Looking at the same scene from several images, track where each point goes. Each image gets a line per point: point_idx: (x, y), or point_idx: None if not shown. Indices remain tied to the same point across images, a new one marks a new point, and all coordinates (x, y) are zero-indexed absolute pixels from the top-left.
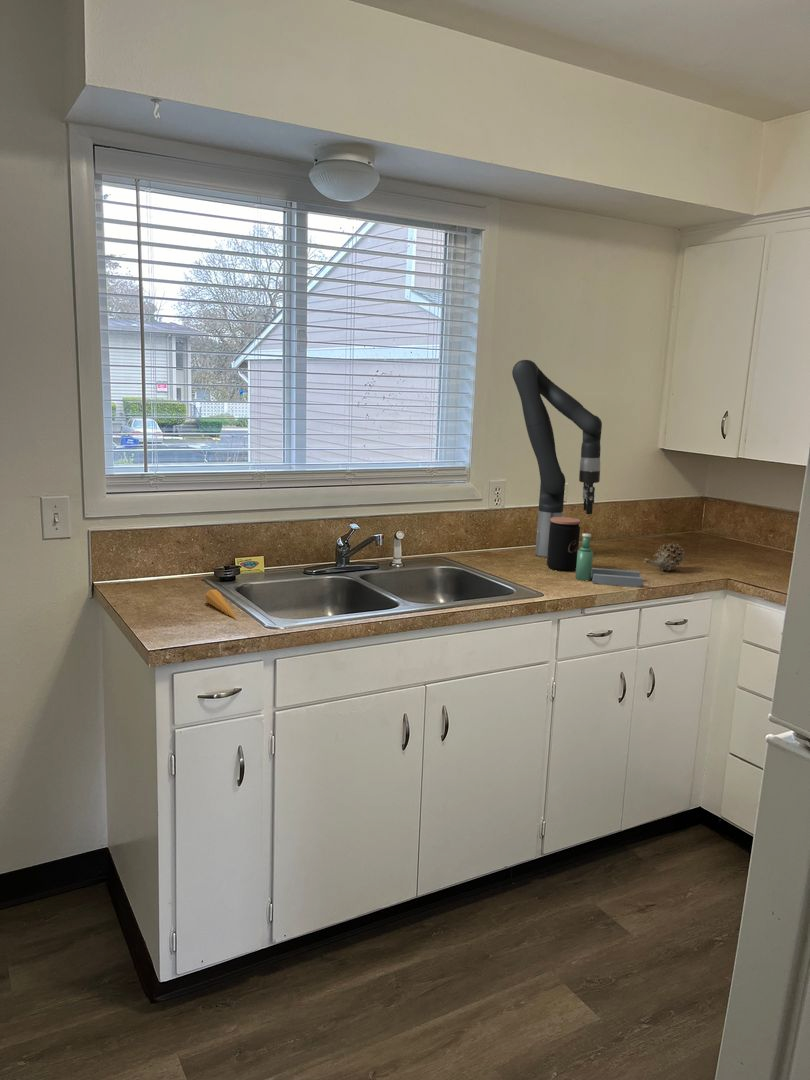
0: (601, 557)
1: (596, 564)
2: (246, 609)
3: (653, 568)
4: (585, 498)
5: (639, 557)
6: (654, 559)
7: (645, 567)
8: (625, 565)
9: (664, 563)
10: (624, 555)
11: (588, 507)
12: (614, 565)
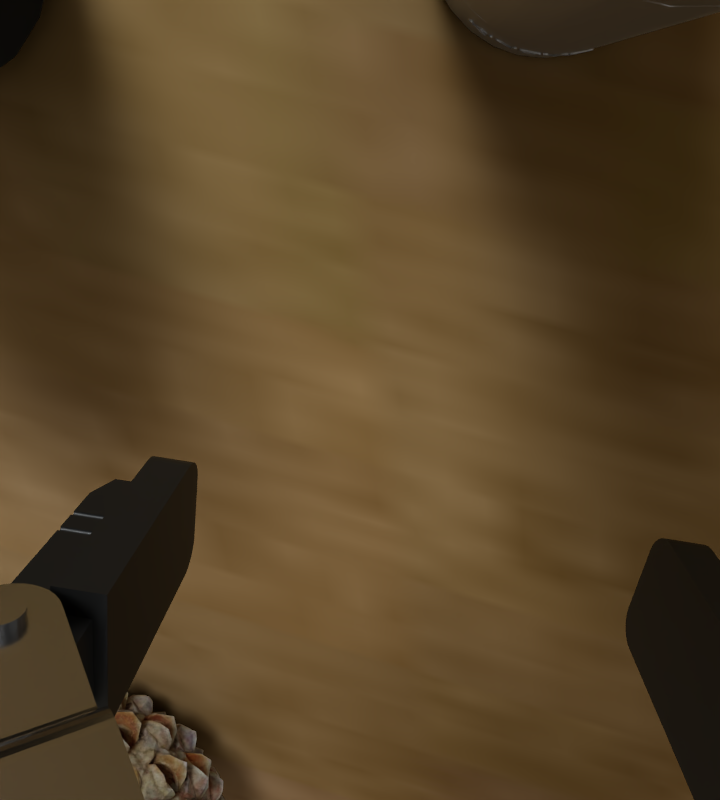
0: (479, 449)
1: (202, 333)
2: None
3: (172, 665)
4: (72, 719)
5: (499, 694)
6: (118, 711)
7: (189, 632)
8: (219, 534)
9: None
10: (562, 628)
11: (38, 565)
12: (200, 460)
